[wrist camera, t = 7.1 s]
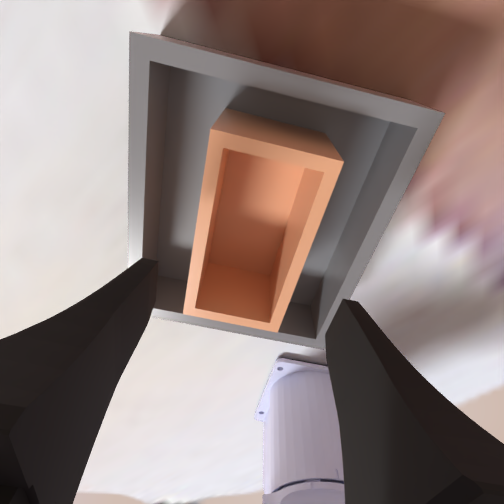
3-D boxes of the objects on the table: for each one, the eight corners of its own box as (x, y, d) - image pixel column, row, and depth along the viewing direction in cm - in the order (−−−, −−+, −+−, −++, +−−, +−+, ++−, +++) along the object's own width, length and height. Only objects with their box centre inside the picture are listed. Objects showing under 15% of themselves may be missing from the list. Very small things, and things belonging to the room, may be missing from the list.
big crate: (316, 308, 25) (323, 349, 21) (147, 274, 24) (127, 312, 20) (409, 99, 17) (445, 113, 13) (159, 34, 16) (129, 31, 12)
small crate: (275, 278, 22) (277, 332, 18) (199, 262, 22) (182, 314, 18) (325, 133, 17) (344, 161, 13) (225, 108, 16) (210, 128, 12)
